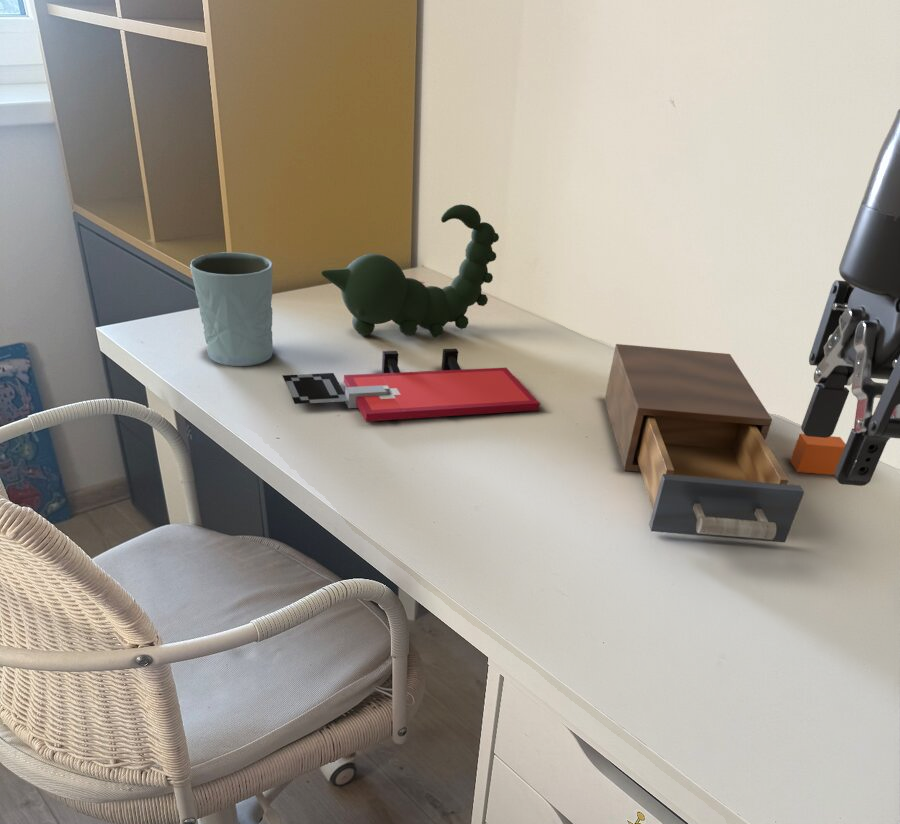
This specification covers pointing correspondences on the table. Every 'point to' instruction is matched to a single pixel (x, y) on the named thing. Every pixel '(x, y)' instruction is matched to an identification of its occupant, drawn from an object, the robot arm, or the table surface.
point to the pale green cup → (235, 306)
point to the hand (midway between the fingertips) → (831, 456)
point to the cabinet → (676, 392)
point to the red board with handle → (417, 390)
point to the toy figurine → (417, 285)
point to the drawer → (714, 480)
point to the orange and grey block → (817, 454)
